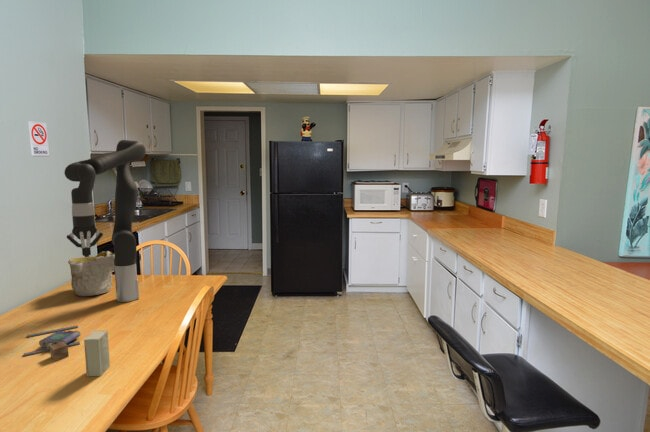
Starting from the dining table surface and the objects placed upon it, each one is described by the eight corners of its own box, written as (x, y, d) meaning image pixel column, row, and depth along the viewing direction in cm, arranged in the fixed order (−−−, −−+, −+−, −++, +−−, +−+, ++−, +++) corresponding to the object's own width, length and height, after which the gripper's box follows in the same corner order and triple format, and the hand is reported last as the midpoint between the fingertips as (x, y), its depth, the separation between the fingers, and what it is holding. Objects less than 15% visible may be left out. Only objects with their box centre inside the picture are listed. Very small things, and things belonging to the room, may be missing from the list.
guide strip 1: (77, 326, 153) (77, 325, 153) (77, 327, 152) (77, 326, 152) (27, 336, 144) (26, 335, 144) (26, 337, 143) (26, 336, 143)
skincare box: (96, 366, 123) (93, 330, 121) (110, 366, 123) (108, 330, 122) (85, 377, 117) (82, 339, 115) (101, 376, 117) (98, 338, 116)
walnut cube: (64, 352, 132) (63, 341, 131) (68, 356, 129) (67, 345, 129) (50, 357, 129) (49, 345, 128) (54, 361, 126) (53, 349, 126)
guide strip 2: (79, 342, 139) (79, 341, 139) (79, 344, 138) (79, 342, 138) (23, 354, 130) (23, 353, 130) (23, 356, 129) (23, 355, 129)
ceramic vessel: (42, 278, 188) (75, 235, 197) (88, 298, 204) (116, 257, 213) (57, 287, 173) (92, 240, 183) (105, 308, 189) (135, 263, 199)
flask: (80, 330, 143) (60, 342, 132) (81, 338, 143) (61, 350, 132) (55, 330, 143) (34, 342, 132) (56, 338, 143) (34, 350, 132)
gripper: (101, 212, 160) (104, 252, 162) (63, 214, 152) (66, 257, 155) (103, 214, 154) (106, 256, 156) (63, 216, 146) (67, 260, 149)
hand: (86, 256), depth 155 cm, fingers closed
